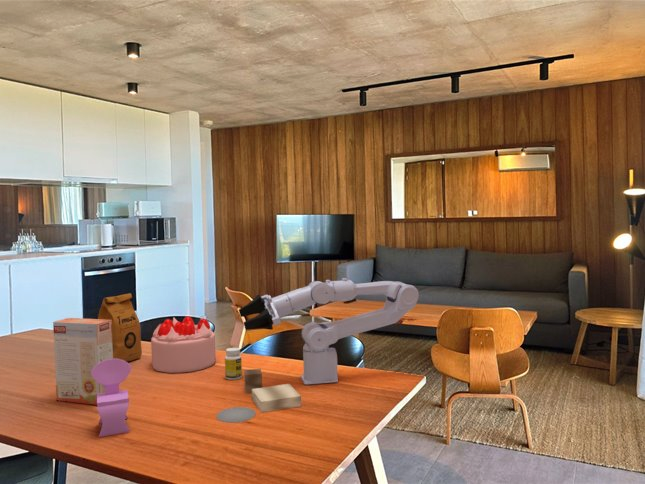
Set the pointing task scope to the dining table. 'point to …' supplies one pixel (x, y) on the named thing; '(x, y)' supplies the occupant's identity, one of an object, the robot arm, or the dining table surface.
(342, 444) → the dining table surface
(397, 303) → the robot arm
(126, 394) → the toy chair
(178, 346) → the cake
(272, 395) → the maple block
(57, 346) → the cracker box
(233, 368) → the supplement bottle
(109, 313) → the coffee package
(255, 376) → the walnut block
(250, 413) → the felt coaster
